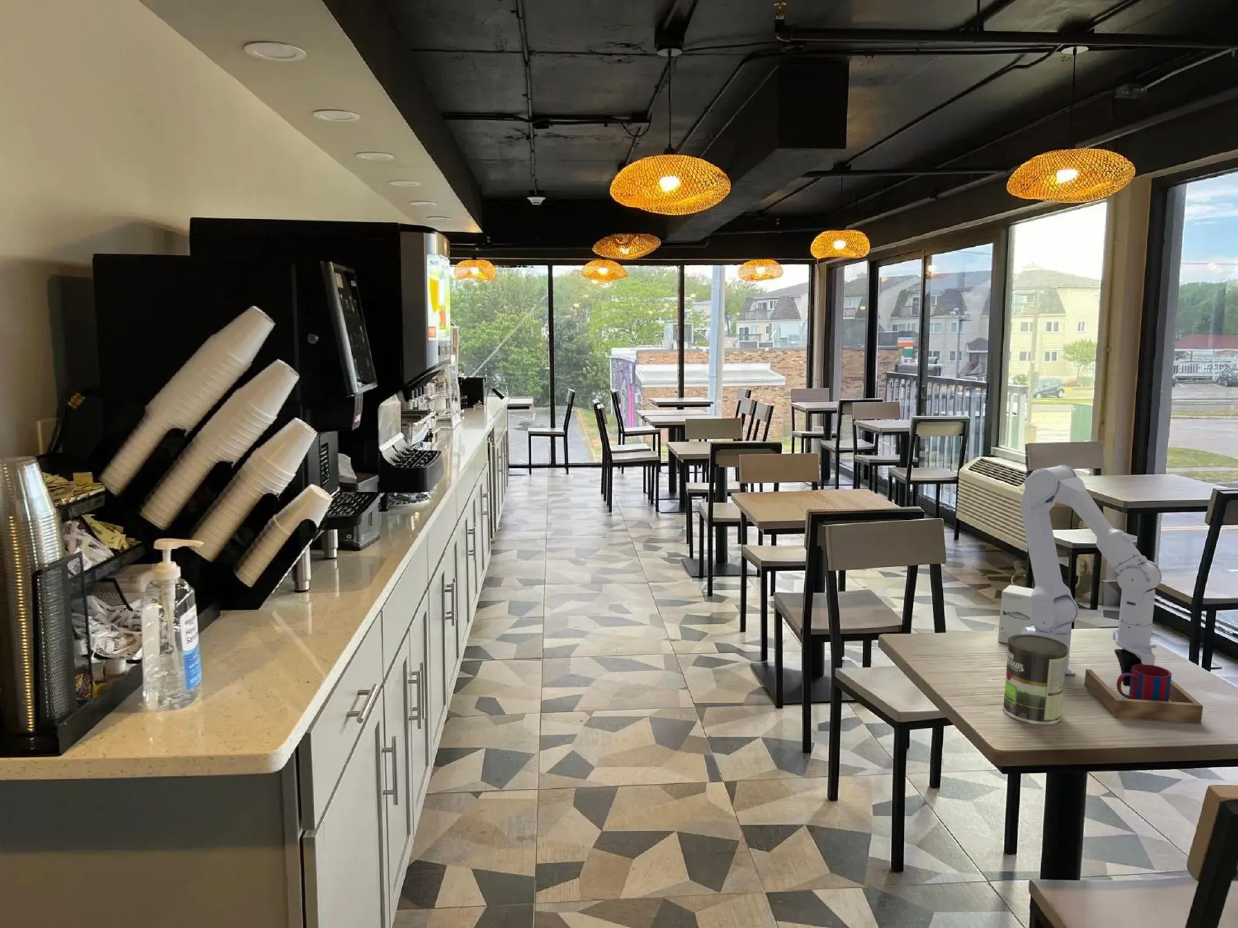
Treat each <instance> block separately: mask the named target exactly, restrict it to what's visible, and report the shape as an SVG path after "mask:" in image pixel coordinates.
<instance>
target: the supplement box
mask: <svg viewBox="0 0 1238 928" xmlns="http://www.w3.org/2000/svg"><path fill="white" fill-rule="evenodd" d="M1033 590H1034V588H1030V587H1025V586H1024V587H1023V586H1019V585H1013V584H1009V585H1008V586H1007V587H1006V588H1004V589H1003V590H1002V591H1001V599H1000V612H999V625H998V634H997V642H998V643H1003V644H1004V643H1005V644H1008V638H1009V637H1011V636H1014V635H1021V632H1022V629H1023V627H1031V626H1034V624H1033V623H1032V621H1031V619H1030V615H1029V612H1030V608H1031V599H1030V597H1031V594H1032V592H1033Z"/></svg>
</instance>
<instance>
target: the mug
mask: <svg viewBox="0 0 1238 928" xmlns="http://www.w3.org/2000/svg"><path fill="white" fill-rule="evenodd" d="M1126 676H1131V679H1130V686H1129V689H1128V690H1129V691H1128V692H1129V693H1128V694H1125V693H1124V692H1123V691H1122V684H1123V682H1122V680H1123V679H1124V678H1125V677H1126ZM1172 676H1173V675H1172V672H1171V671H1170V670H1168V669H1166V668H1164V667H1162V666H1158V665H1155V664H1154V665H1143V664H1135V665H1133V666H1132V670H1131V673H1123V674H1122V673H1121V674H1120V675H1119V676H1118V678H1117V680H1116V690H1117V692H1118V693H1119V694H1120V696H1122V697H1123V698H1125V699H1135V700H1151V701H1167V702H1170V700H1169V695H1170V685H1171V680H1172Z"/></svg>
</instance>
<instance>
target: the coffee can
mask: <svg viewBox="0 0 1238 928" xmlns="http://www.w3.org/2000/svg"><path fill="white" fill-rule="evenodd" d="M1067 652H1068V647H1067V646H1066V645H1065V644H1064V643H1062V642H1060V641H1058V640H1055V639H1052V638H1049V637H1044V636H1039V635H1030V634H1021V635H1014V636H1011V637H1009V638H1008V643H1007V655H1006V656H1007V657H1006V668H1005V669H1006V672H1005V683H1004V693H1003V706H1002V711H1003V712H1004V713H1005V714H1006V715H1008V716H1009V717H1010V718H1013V719H1014V720H1016V721H1019V722H1022V723H1026V724H1030V725H1037V726H1051V725H1055V724H1058V723H1059V722H1061V721H1062V706H1063V697H1064V688H1065V687H1064V686H1065V676H1066V674H1065V667H1066V656H1067Z"/></svg>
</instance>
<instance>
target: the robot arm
mask: <svg viewBox="0 0 1238 928" xmlns="http://www.w3.org/2000/svg"><path fill="white" fill-rule="evenodd" d="M1023 485H1024V491H1023V493H1022V497H1021V501H1020V506H1019V507H1020V509H1019V510H1020V513H1021V519H1022V524H1023V529H1024V534H1025V539H1026V544H1027V549H1028V550H1027V551H1028V555H1029V560H1030V564H1031V570H1032V575H1033V579H1034V585H1035V586H1034V588H1033V589H1034V590H1033V592H1032V594H1031V597H1030V599H1031V608H1030V612H1029V615H1030V619H1031V621H1032V623H1033V624H1034V626H1031V627H1023V629H1022V632H1021V634H1030V635H1039V636H1044V637H1049V638H1052V639H1055V640H1058V641H1060V642H1062V643H1064V644H1065V645H1066V646H1067V647H1068V652H1067V656H1066V667H1065V675H1073V676H1074V675H1076V671H1074V670H1073V668H1071V666H1070V663H1069V662H1070V652H1071V651H1070V650H1071V641H1072V640H1071V639H1072V629H1073V628H1072V623H1073V622H1074V621H1076V620H1077V619H1078V617H1079V614H1080V613H1079V611H1080V610H1079V606H1078V604H1077V602H1076V600H1075V599H1074V598H1073V596H1072V592H1071V589H1070V588H1069V587H1068V586H1067V585H1066V584H1065V583H1064V582H1063V576H1062V573H1061V567H1060V566H1061V565H1060V563H1059V556H1058V552H1057V546H1056V541H1055V536H1054V531H1053V526H1052V522H1051V516H1050V510H1051V509H1052V508H1053V507H1054V505H1055V504H1060V505H1065V506H1069V507H1070V508H1071V509H1072V510H1073V511H1074V512H1075V513H1076V515H1077V516H1078V517H1079V518H1080V519H1081V521H1083V522H1084V523H1085V525H1086V526H1087V527H1088V528H1089V529H1090V531H1091V532H1092V533H1093V534H1094V535H1095V536H1096V542H1095V543H1096V545H1095V546H1096V548H1097V549H1098V550H1099V551H1100V553H1101V554H1102V556H1103V557H1104V558H1105V559H1106V561H1107V562H1108V563H1109V565H1110V566H1111V567H1112V569H1113V570H1114V571H1115V572H1116V573H1117V576H1116V581H1117V585H1118V586H1119V587H1120V590H1121V597H1120V604H1119V616H1118V617H1119V619H1118V627H1117V629H1114V630H1113V632H1112V633H1113V634H1112V640H1114V641H1115V644H1116V645H1117V646H1118V647H1120V648H1116V649H1114V654H1115V655H1116V658H1117V661H1118V664H1119V667H1120V672H1121V674H1123V673H1131V670H1132V666H1133V665H1135V664H1143V665H1155V660H1156V656H1155V655H1154V653H1153V649H1156V648H1157V644H1156V643H1155V642H1153V641H1151V639H1152V628H1153V618H1154V611H1155V609H1154V607H1155V597H1156V589H1155V588H1156V587H1158V586H1159V585H1160V584H1161V582H1162V572H1161V570H1160V568H1159V566H1158V564H1156V563H1155V562H1153V561H1151V560H1148V559H1147V556H1145V555H1142V554H1141V552H1140V551H1139V549H1138V548H1137V547H1136V546H1135V545H1134V543H1133V542H1132V540H1133V538H1132V536H1131V535H1130V534H1129V533H1127V534H1126V533H1125V532H1124V530H1121V529H1116V528H1114V527H1113V526H1112V525H1111V523H1110V522H1109V520H1108V519H1107V518H1106V517H1105V515H1104V513H1103V512H1102V510H1101V509H1100V507H1099V506H1098V505H1097V503H1096V502H1095V501H1094V499H1093V497H1092V496H1091V495H1090V493H1089V492H1088V490H1087V488H1086V486H1085V483H1084V481H1083V480H1082V478H1080V477H1079V476H1078V474H1077V473H1076V471H1075V470H1074V469H1073V468H1071V467H1070V466H1068V465H1065V464H1059V465H1055V466H1052V467H1046V468H1038V469H1035V470H1033V471H1032V472H1031V473H1030V474H1029V475H1028V476H1027V478H1025V479H1024V480H1023ZM1130 679H1131V676H1126V677H1125V678H1124V679H1123V680H1122V685H1123V686H1124V687H1130Z"/></svg>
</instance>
